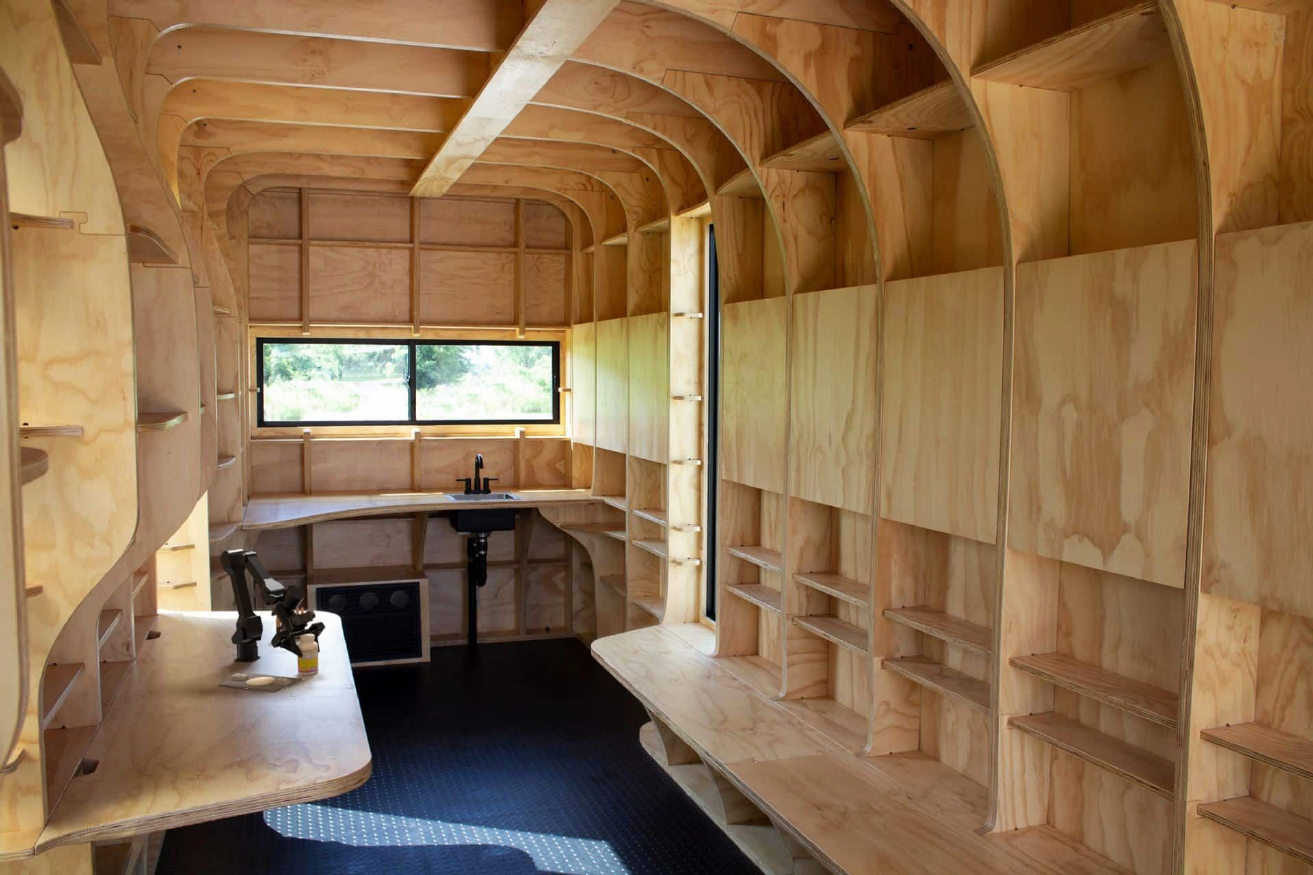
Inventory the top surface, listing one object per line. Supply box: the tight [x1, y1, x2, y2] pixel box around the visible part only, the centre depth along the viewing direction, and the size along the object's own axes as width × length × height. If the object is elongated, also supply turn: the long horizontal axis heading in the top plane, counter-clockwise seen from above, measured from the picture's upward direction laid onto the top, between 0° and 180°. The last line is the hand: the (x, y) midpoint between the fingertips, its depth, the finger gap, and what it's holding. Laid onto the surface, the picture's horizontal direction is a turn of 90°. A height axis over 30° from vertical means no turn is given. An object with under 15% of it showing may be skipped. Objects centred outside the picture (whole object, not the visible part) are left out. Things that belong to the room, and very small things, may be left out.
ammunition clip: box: [275, 606, 305, 640], centre depth 420 cm, size 11×2×12 cm, turn 105°
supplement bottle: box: [296, 634, 319, 676], centre depth 372 cm, size 7×7×13 cm
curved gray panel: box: [218, 672, 304, 693], centre depth 361 cm, size 22×14×2 cm, turn 70°
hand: (310, 654), depth 371 cm, fingers closed on supplement bottle, 7 cm apart
